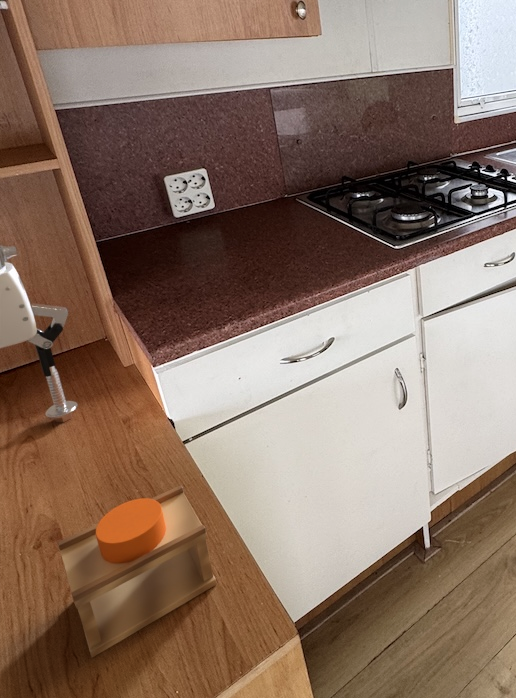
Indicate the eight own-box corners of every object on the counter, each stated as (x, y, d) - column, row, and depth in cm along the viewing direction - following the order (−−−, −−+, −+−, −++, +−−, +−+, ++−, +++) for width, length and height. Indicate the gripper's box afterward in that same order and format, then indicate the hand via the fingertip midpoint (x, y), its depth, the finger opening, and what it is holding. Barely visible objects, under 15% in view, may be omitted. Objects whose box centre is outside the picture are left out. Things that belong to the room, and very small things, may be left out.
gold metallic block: (91, 658, 67) (72, 597, 64) (75, 599, 74) (57, 541, 71) (216, 584, 77) (205, 527, 73) (192, 538, 83) (180, 484, 80)
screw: (60, 410, 110) (85, 410, 110) (41, 426, 106) (68, 426, 106) (43, 350, 106) (70, 351, 106) (23, 365, 101) (51, 365, 101)
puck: (94, 571, 68) (88, 550, 67) (108, 525, 74) (103, 506, 73) (161, 554, 71) (156, 533, 69) (170, 511, 77) (165, 492, 76)
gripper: (47, 240, 78) (75, 351, 83) (-140, 274, 66) (-92, 400, 72) (56, 256, 72) (86, 373, 78) (-145, 295, 61) (-92, 429, 67)
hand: (1, 386), depth 75 cm, fingers open, 9 cm apart
